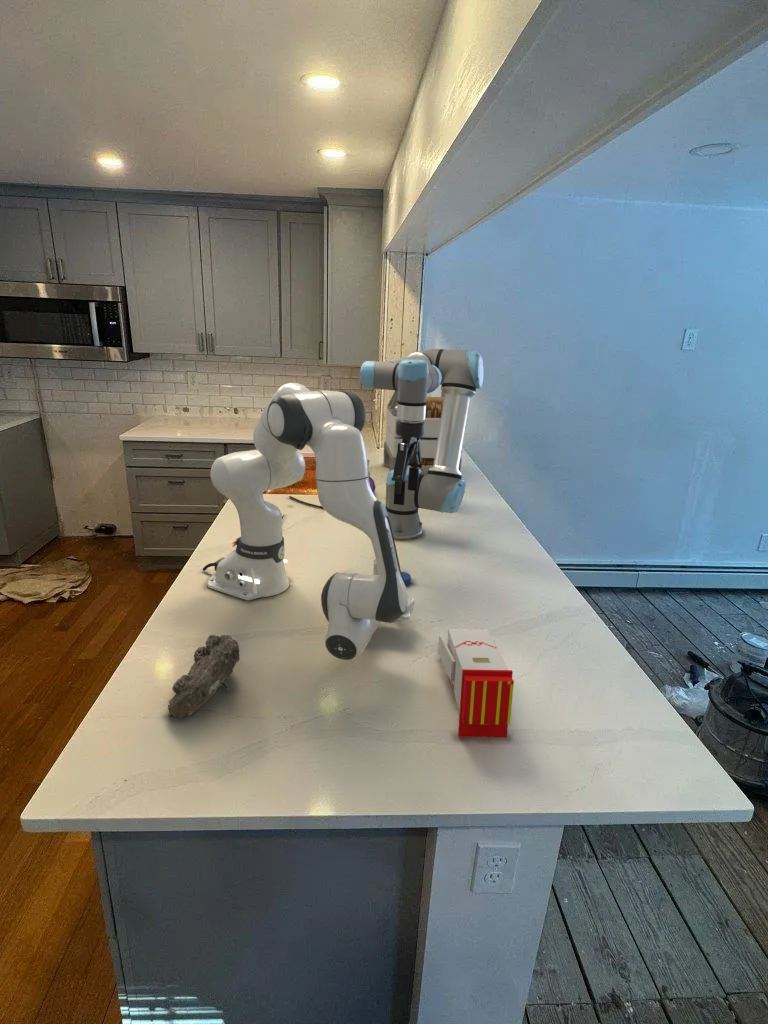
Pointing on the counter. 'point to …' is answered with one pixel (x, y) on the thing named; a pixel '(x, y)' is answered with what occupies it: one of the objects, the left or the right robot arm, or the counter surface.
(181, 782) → the counter surface
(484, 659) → the toy
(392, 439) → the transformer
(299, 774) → the counter surface
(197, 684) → the fossil
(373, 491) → the figurine
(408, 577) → the lid
